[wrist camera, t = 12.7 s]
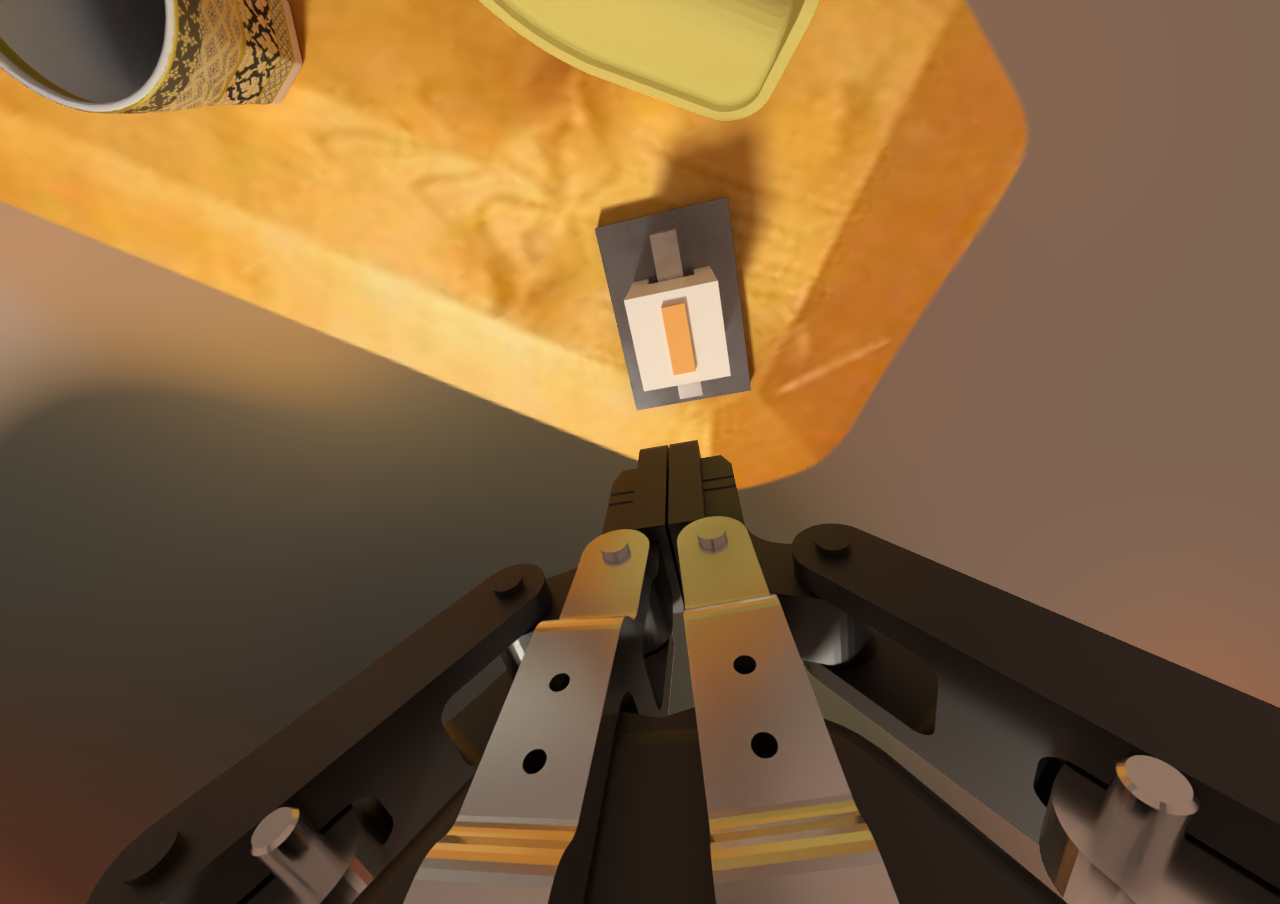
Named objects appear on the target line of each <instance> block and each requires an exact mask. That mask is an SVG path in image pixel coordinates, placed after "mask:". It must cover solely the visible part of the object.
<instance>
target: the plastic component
mask: <svg viewBox="0 0 1280 904" xmlns="http://www.w3.org/2000/svg"><path fill="white" fill-rule="evenodd" d="M479 1H480V2H481V3H482V4H484V5H485V6H486V7H487V8H488V9H489V10H490V11H491V12H493V13H494V14H495V15H496V16H498V17H499V18H500V19H501V20H502V21H504V22H505V23H506V24H507V25H509V26H510V27H511V28H512V29H514V30H515V31H516V32H517V33H519V34H520V35H522V36H523V37H525V38H526V39H528V40H529V41H531V42H532V43H534V44H535V45H537V46H538V47H540V48H541V49H543V50H544V51H546V52H548V53H549V54H551V55H553V56H555V57H556V58H558V59H560V60H562V61H564V62H566V63H568V64H570V65H572V66H574V67H576V68H578V69H580V70H582V71H584V72H586V73H588V74H591V75H593V76H596V77H599V78H602V79H604V80H607V81H610V82H613V83H615V84H618V85H621V86H623V87H626V88H629V89H632V90H634V91H637V92H640V93H642V94H645V95H648V96H651V97H653V98H656V99H659V100H662V101H664V102H667V103H670V104H672V105H675V106H678V107H681V108H683V109H686V110H689V111H692V112H694V113H697V114H700V115H702V116H705V117H708V118H711V119H713V120H722V121H731V120H738V119H742V118H744V117H747V116H750V115H751V114H753V113H755V112H756V111H758V110H759V109H760V108H761V107H762V106H763V105H764V104H765V103H766V102H767V101H768V99H769V98H770V96H771V94H772V92H773V90H774V88H775V86H776V85H777V83H778V81H779V79H780V77H781V75H782V73H783V72H784V70H785V68H786V66H787V64H788V62H789V60H790V59H791V57H792V55H793V53H794V51H795V49H796V47H797V46H798V44H799V42H800V40H801V38H802V36H803V34H804V33H805V31H806V29H807V27H808V25H809V23H810V21H811V19H812V17H813V15H814V12H815V10H816V7H817V5H818V3H819V0H479Z"/></svg>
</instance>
